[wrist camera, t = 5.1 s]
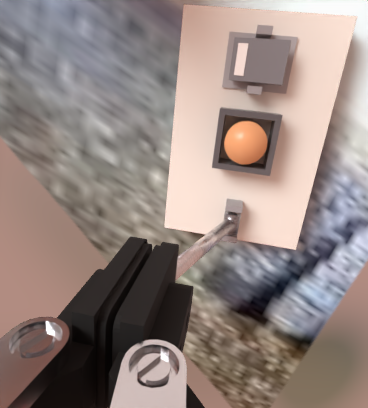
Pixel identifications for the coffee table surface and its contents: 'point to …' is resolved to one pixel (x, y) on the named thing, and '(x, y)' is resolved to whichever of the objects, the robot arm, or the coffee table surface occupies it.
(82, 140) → the coffee table surface
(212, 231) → the toggle lever
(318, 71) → the switch board
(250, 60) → the rocker switch
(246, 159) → the push button
